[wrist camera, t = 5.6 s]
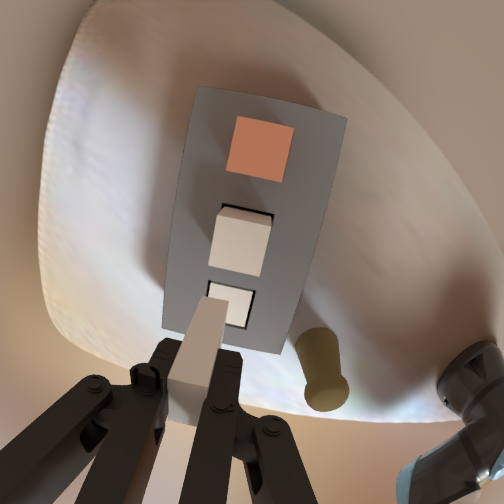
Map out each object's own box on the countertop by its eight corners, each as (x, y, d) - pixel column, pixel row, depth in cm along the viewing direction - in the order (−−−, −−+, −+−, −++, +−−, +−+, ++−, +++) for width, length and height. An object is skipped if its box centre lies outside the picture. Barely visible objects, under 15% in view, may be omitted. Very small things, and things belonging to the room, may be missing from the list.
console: (333, 124, 29) (347, 118, 23) (279, 326, 37) (280, 354, 32) (210, 97, 29) (197, 86, 23) (175, 303, 37) (161, 328, 32)
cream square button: (254, 276, 33) (252, 292, 29) (246, 308, 35) (244, 327, 31) (217, 268, 33) (210, 282, 29) (211, 300, 35) (204, 318, 31)
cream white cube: (270, 216, 27) (271, 226, 23) (260, 260, 28) (259, 276, 24) (224, 206, 27) (217, 214, 23) (216, 250, 28) (208, 265, 24)
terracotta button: (290, 132, 24) (294, 127, 20) (279, 178, 26) (281, 182, 22) (242, 121, 24) (237, 115, 20) (232, 168, 26) (225, 170, 22)
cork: (324, 366, 39) (336, 422, 29) (288, 354, 39) (292, 413, 29) (345, 335, 37) (365, 390, 27) (308, 322, 37) (319, 378, 27)
